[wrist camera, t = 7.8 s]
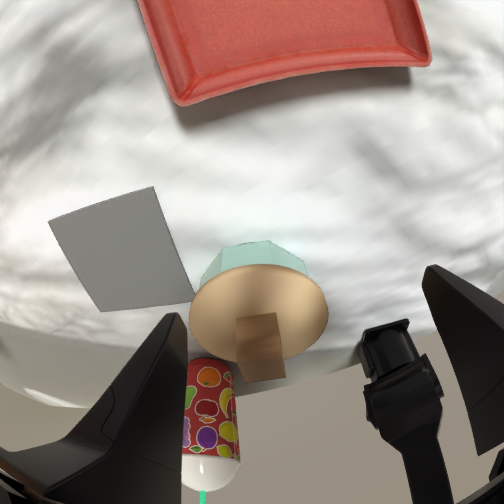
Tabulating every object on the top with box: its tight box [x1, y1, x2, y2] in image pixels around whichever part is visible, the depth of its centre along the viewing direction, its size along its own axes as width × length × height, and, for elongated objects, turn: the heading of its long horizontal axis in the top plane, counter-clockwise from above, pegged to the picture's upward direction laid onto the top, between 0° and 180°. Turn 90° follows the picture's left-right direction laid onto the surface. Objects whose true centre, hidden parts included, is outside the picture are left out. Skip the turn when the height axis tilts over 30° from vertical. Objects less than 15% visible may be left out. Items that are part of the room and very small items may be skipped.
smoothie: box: [181, 358, 241, 504], centre depth 26 cm, size 8×8×20 cm
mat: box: [48, 186, 195, 312], centre depth 23 cm, size 12×12×1 cm
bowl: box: [200, 240, 309, 287], centre depth 23 cm, size 9×9×4 cm
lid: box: [189, 264, 328, 383], centre depth 20 cm, size 11×11×5 cm
